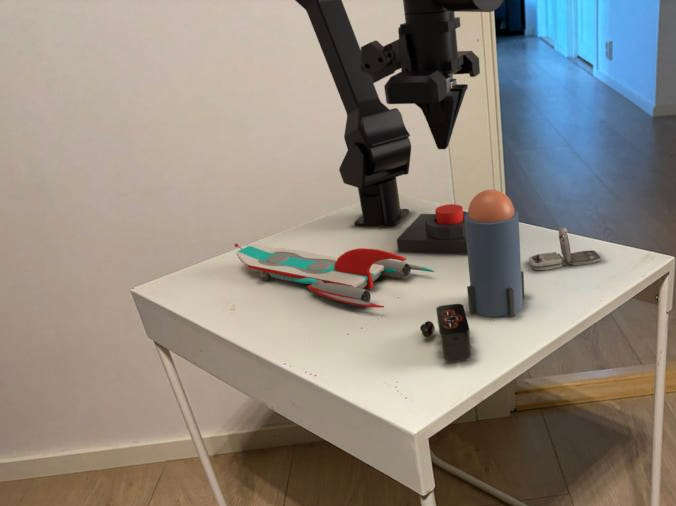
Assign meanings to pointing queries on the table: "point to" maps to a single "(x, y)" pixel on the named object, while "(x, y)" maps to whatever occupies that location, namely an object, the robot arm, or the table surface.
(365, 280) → the toy spaceship
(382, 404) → the table surface
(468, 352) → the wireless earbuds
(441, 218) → the button
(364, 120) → the robot arm
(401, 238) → the box
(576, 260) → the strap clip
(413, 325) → the table surface
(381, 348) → the table surface
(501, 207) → the toy rocket
